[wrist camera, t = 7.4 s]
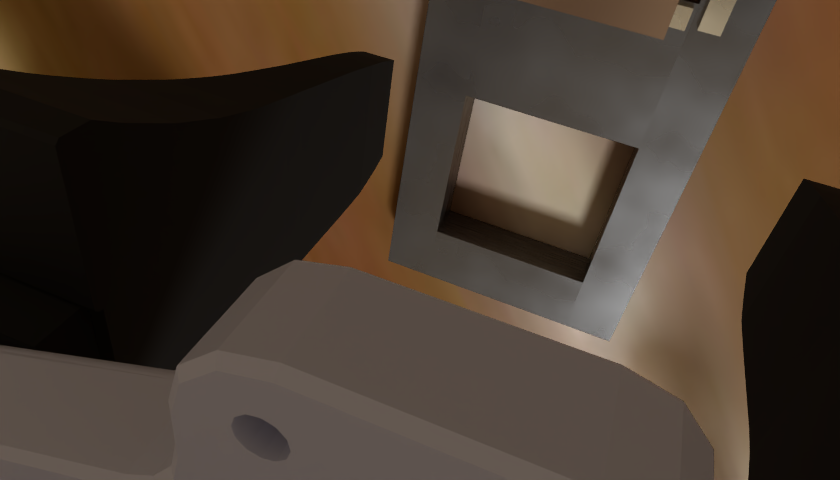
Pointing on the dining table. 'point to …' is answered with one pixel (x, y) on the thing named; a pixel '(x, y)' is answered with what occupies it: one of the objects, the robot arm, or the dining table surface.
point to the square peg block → (620, 13)
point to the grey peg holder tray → (573, 107)
